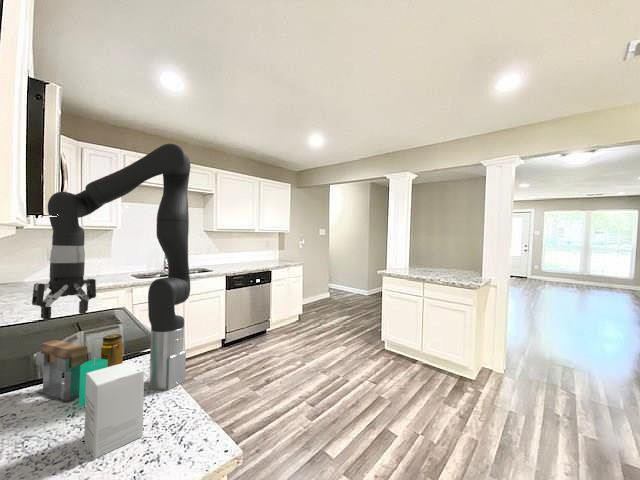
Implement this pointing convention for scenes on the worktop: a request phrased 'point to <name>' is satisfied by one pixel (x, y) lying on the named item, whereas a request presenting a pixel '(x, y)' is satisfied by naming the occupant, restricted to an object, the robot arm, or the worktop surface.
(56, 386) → the rack
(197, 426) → the worktop surface
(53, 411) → the worktop surface
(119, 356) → the condiment
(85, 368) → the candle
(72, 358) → the rail
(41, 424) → the worktop surface
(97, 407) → the supplement box
